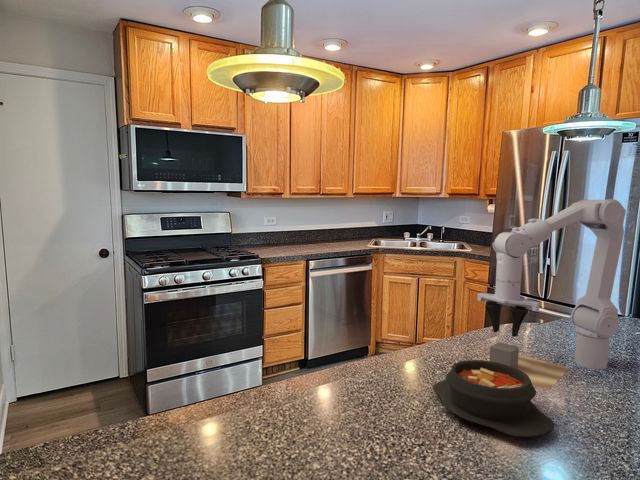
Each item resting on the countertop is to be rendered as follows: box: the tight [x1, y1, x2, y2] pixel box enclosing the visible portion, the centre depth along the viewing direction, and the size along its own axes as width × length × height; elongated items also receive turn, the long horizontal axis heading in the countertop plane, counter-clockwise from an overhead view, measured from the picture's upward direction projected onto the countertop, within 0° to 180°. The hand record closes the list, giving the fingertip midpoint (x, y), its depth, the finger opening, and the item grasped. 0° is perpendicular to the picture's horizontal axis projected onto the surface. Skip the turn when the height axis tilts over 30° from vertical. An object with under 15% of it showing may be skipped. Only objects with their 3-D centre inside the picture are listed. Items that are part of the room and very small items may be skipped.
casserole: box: [432, 359, 555, 438], centre depth 85 cm, size 25×19×8 cm
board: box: [487, 354, 571, 390], centre depth 107 cm, size 18×17×1 cm
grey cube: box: [488, 341, 520, 369], centre depth 106 cm, size 5×5×6 cm
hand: (505, 333), depth 106 cm, fingers open, 4 cm apart
